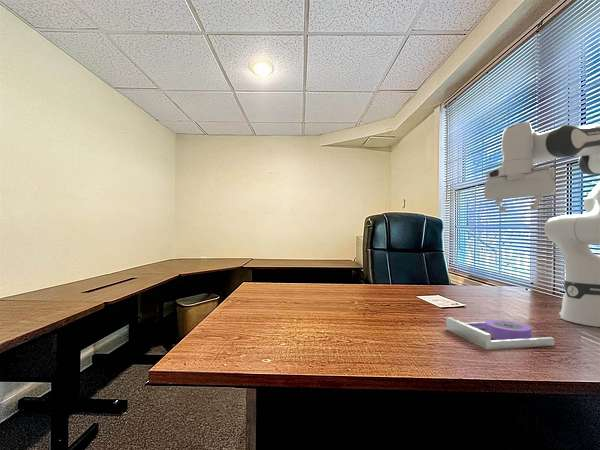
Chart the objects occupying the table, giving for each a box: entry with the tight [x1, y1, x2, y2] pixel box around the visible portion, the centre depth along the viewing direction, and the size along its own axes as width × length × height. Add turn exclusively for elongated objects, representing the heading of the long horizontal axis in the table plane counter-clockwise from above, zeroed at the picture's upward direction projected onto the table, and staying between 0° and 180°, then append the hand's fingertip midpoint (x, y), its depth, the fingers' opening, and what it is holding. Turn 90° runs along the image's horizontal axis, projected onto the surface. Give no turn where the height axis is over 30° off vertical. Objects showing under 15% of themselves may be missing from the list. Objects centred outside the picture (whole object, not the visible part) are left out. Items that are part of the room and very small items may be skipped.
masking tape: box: [484, 319, 533, 340], centre depth 93 cm, size 12×12×4 cm
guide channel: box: [445, 316, 556, 350], centre depth 93 cm, size 22×17×4 cm
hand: (517, 210), depth 103 cm, fingers open, 8 cm apart
